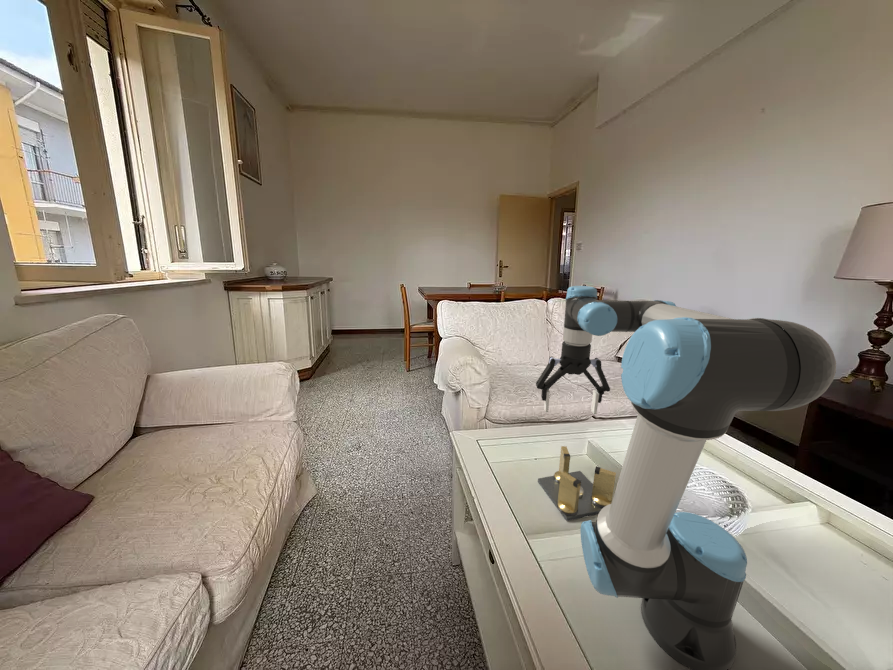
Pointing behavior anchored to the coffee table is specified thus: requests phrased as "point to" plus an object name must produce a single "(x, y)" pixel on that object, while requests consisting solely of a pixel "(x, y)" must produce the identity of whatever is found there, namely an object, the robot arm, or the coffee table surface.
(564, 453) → the far knob
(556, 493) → the plate
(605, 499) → the side knob
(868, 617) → the coffee table surface
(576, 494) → the front knob
